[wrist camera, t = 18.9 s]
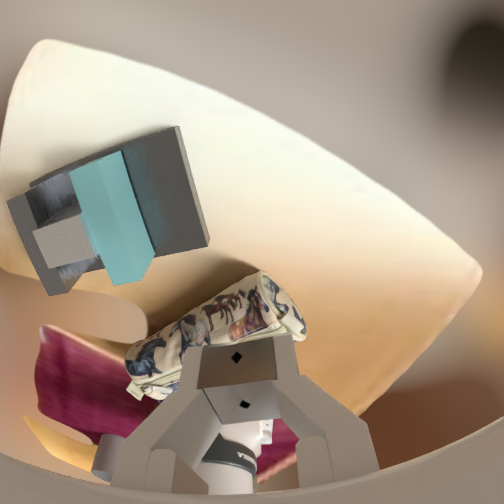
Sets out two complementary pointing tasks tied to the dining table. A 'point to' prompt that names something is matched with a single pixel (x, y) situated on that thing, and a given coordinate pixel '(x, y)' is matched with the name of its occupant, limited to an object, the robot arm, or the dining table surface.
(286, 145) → the dining table surface
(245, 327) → the pencil case
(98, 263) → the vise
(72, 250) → the steel block
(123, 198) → the bar
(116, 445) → the cup
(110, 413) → the dining table surface
